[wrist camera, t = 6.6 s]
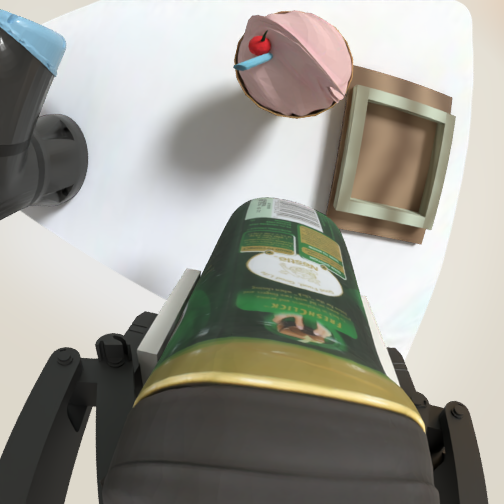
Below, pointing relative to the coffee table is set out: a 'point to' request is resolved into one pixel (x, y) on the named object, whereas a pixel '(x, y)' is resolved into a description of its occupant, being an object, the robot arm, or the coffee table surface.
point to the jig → (390, 157)
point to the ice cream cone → (293, 64)
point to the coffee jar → (273, 383)
